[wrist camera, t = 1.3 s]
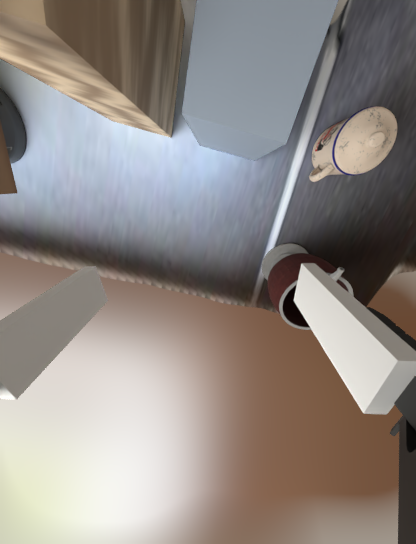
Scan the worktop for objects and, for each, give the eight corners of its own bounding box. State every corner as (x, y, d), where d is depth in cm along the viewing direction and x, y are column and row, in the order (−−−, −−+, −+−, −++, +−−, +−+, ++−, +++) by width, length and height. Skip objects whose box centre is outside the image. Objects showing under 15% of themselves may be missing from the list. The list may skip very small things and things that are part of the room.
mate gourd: (303, 288, 51) (347, 346, 34) (254, 285, 52) (273, 340, 34) (322, 235, 44) (391, 272, 26) (265, 231, 45) (296, 265, 27)
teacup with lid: (344, 109, 34) (400, 78, 23) (366, 150, 36) (425, 138, 26) (288, 163, 38) (314, 156, 27) (312, 196, 40) (344, 201, 30)
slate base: (199, 145, 37) (181, 113, 19) (220, 32, 30) (220, -183, 12) (254, 160, 38) (286, 143, 20) (287, 54, 31) (382, -120, 13)
